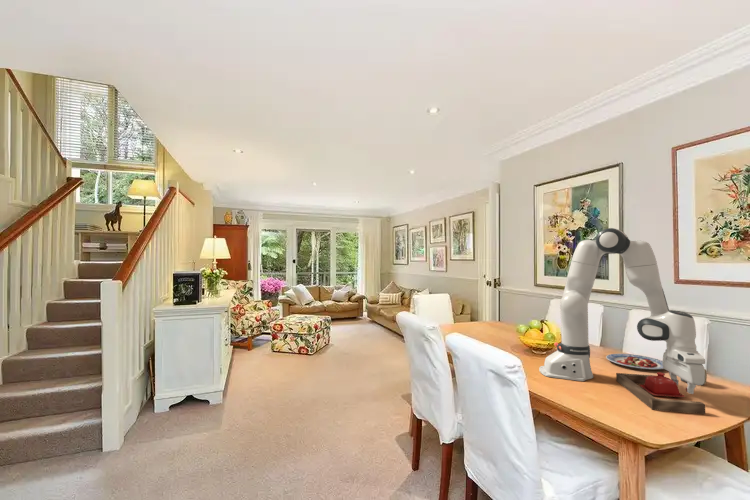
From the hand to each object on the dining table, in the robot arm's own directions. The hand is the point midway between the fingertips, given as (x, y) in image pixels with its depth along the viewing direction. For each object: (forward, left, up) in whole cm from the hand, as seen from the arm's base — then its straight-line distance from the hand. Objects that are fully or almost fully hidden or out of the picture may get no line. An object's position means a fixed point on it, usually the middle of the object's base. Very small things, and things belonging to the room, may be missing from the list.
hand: (682, 388), depth 135 cm
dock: (-9, 0, -4) cm, 10 cm away
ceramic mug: (+15, +21, -4) cm, 27 cm away
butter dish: (-5, +4, -4) cm, 8 cm away
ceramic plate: (+3, +44, -4) cm, 44 cm away
